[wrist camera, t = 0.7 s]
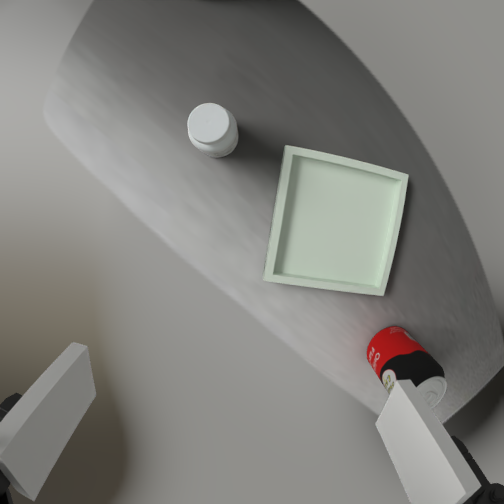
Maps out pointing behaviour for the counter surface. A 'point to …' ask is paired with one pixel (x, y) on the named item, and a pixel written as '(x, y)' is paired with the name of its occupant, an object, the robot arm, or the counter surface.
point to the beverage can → (406, 364)
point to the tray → (334, 223)
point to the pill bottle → (213, 130)
